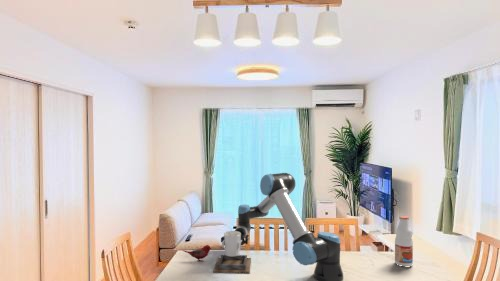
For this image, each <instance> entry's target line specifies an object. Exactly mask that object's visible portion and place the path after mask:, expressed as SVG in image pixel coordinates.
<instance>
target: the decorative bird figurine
mask: <svg viewBox="0 0 500 281" xmlns="http://www.w3.org/2000/svg"><path fill="white" fill-rule="evenodd" d="M210 250H212V248H211V247H210V245H209V244H207V245H204V246H202V247H201V248H198V249H193V250H191V251H188V250H182V252H185V253H187V254H189V255H190V256H191V257H193V258H194V259H197V260H196V261H197V262H202V263H203V259H205V258H206V257H207V256H208V255H209V252H210Z"/></svg>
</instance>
